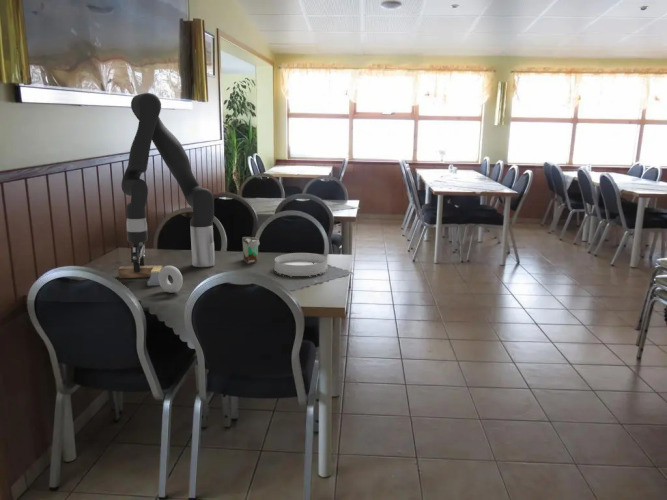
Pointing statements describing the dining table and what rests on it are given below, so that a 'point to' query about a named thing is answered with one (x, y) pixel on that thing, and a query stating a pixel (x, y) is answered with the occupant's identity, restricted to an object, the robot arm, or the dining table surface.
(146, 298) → the dining table surface
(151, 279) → the ridge block
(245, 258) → the food container
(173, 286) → the donut
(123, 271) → the walnut bar
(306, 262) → the dish
